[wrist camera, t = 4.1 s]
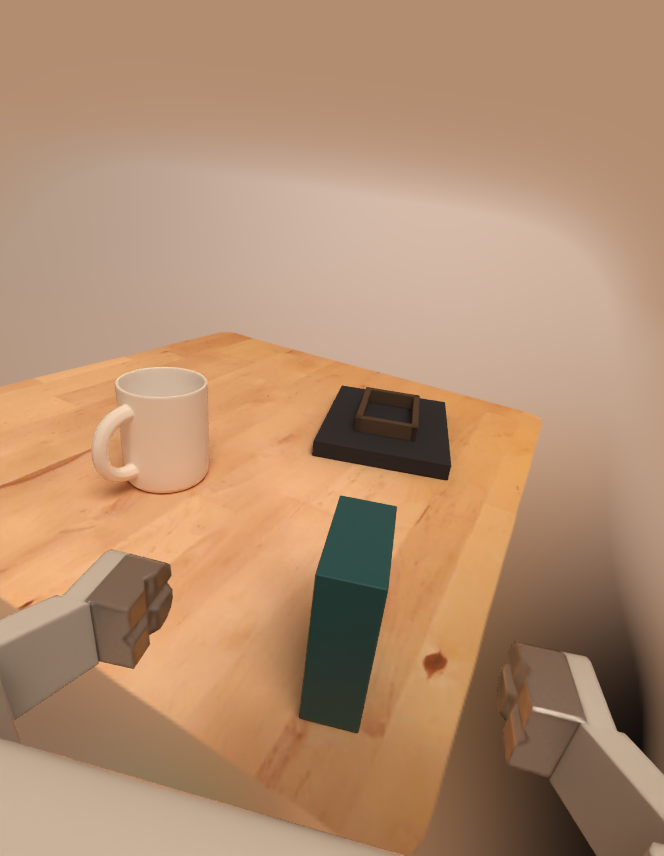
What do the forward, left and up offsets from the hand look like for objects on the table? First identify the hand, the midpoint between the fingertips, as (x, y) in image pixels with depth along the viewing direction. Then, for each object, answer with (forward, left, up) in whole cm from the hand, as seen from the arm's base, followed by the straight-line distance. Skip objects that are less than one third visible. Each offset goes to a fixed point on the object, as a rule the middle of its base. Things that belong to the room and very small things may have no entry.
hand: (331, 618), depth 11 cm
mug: (+22, -28, -18) cm, 40 cm away
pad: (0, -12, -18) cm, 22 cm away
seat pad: (0, -49, -18) cm, 52 cm away
